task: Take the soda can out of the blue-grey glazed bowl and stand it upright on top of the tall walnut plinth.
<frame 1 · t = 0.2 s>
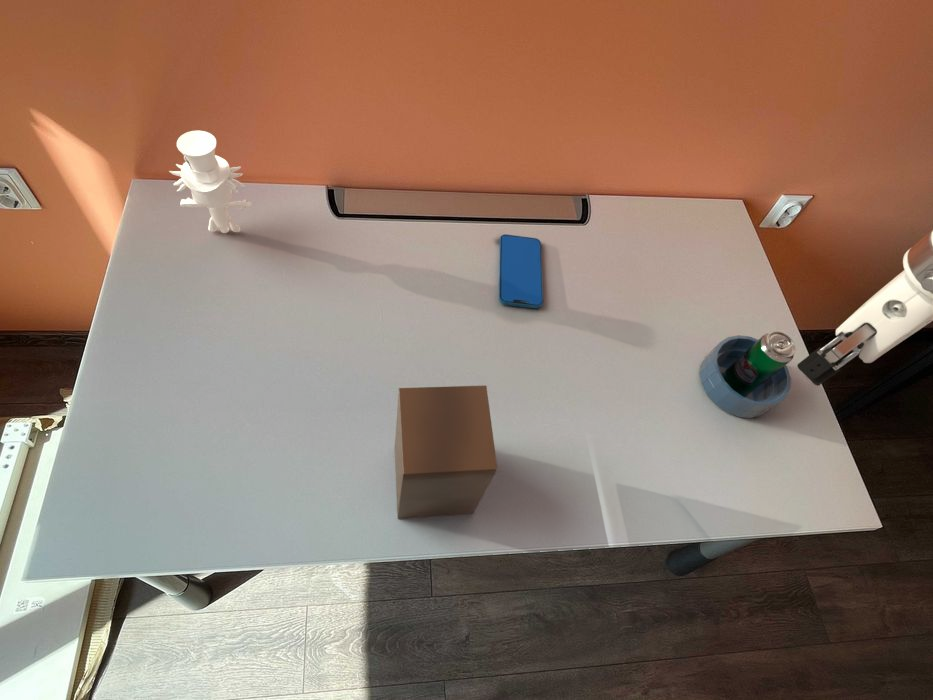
hand: (832, 357, 69), 23 cm above the table, tool pointing down, fingers open, 9 cm apart
smartphone: (519, 272, 99), on the table
figurine: (225, 232, 95), on the table
soda can: (736, 383, 93), resting on bowl
plinth: (433, 479, 78), on the table
bowl: (735, 384, 93), on the table
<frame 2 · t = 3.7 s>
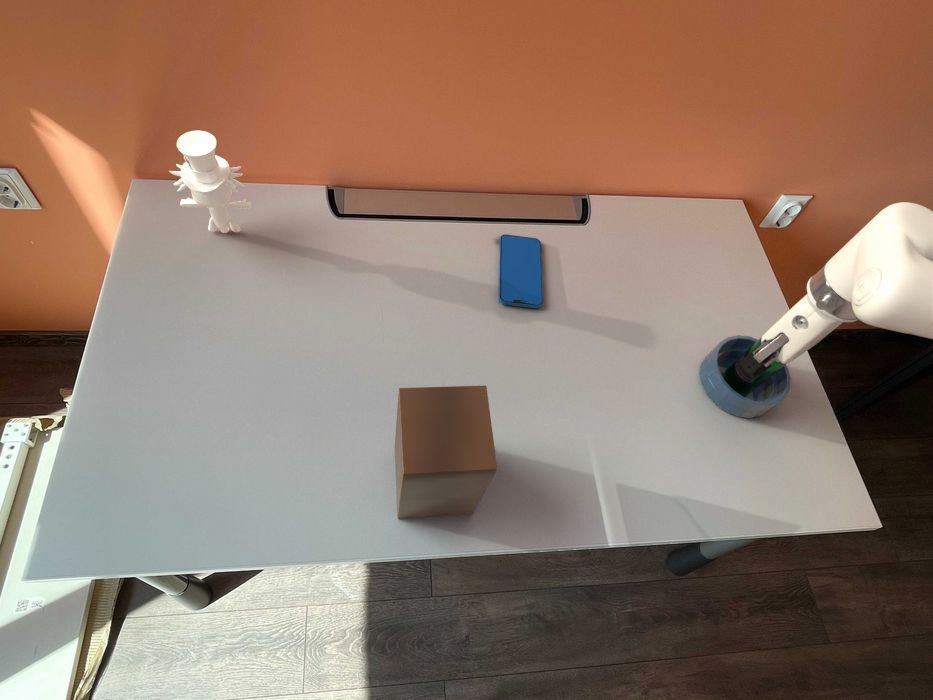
hand: (760, 361, 87), 7 cm above the table, tool pointing down, fingers closed on soda can, 5 cm apart
soda can: (736, 383, 93), resting on bowl, touching gripper
everything else where it was.
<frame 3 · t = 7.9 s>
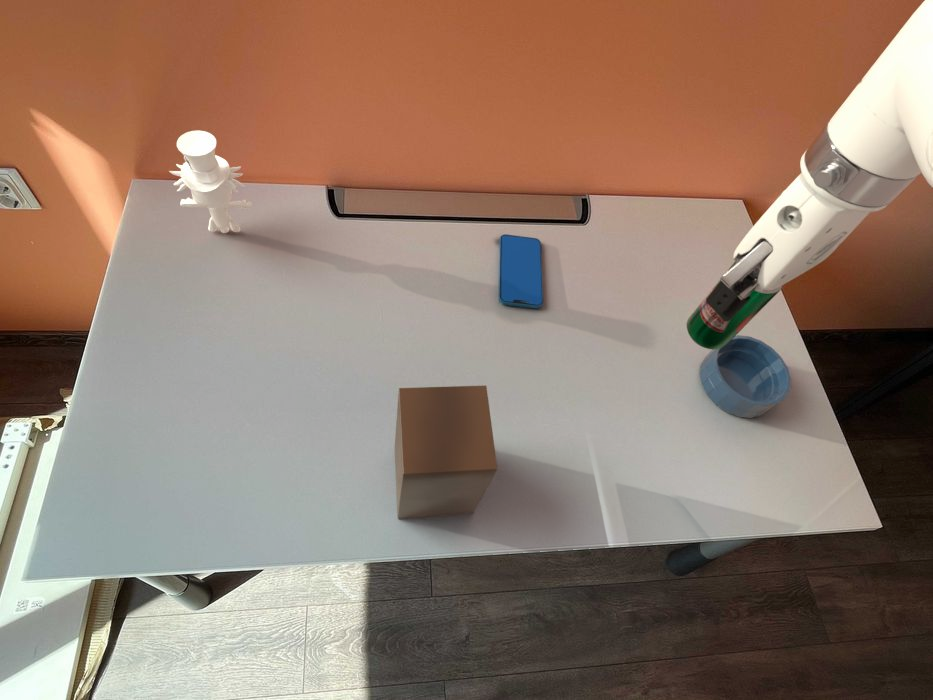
hand: (736, 298, 61), 31 cm above the table, tool pointing down, fingers closed on soda can, 5 cm apart
soda can: (704, 334, 67), point 24 cm above the table, touching gripper
everything else where it was.
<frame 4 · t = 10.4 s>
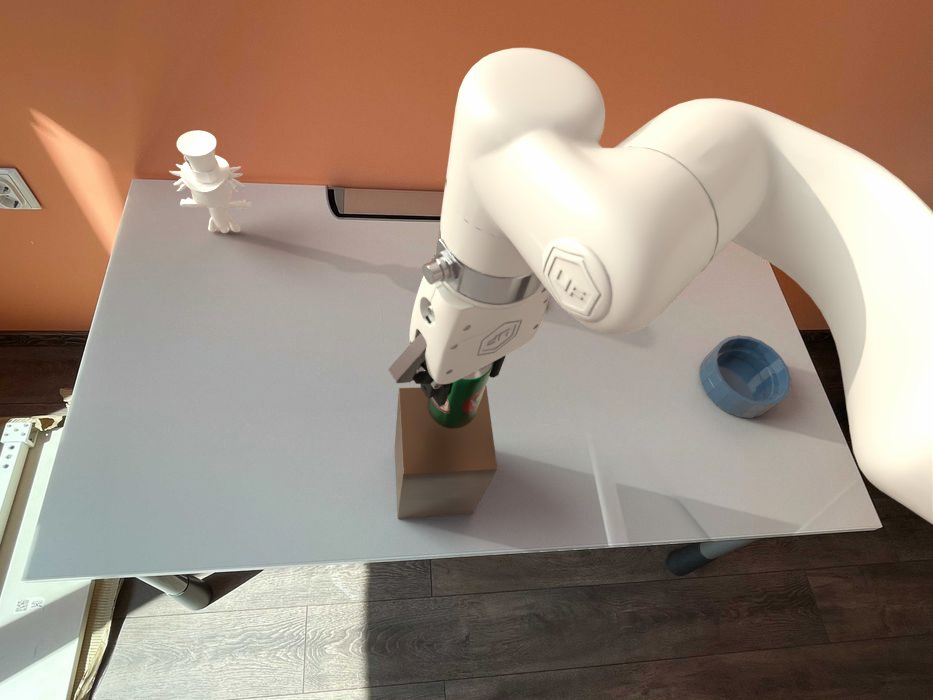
hand: (460, 377, 53), 30 cm above the table, tool pointing down, fingers closed on soda can, 5 cm apart
soda can: (451, 408, 59), point 23 cm above the table, touching gripper
everything else where it was.
when the fingers open (25 cm above the table, at t = 12.0 s): soda can stays where it is, resting on plinth.
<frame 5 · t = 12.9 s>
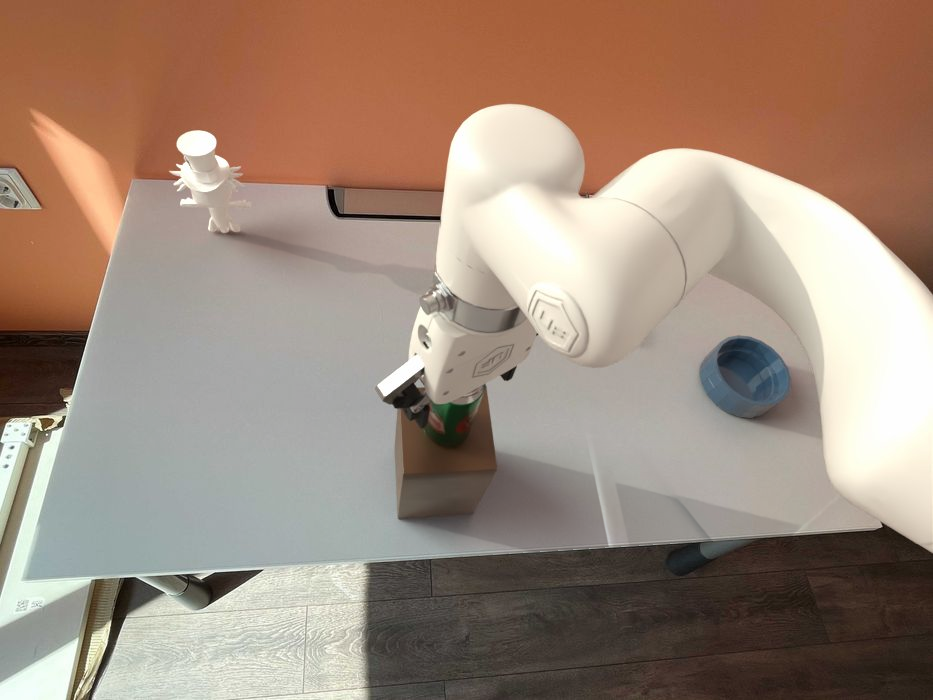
hand: (458, 391, 55), 27 cm above the table, tool pointing down, fingers open, 9 cm apart
soda can: (446, 427, 63), point 18 cm above the table, touching plinth
everything else where it was.
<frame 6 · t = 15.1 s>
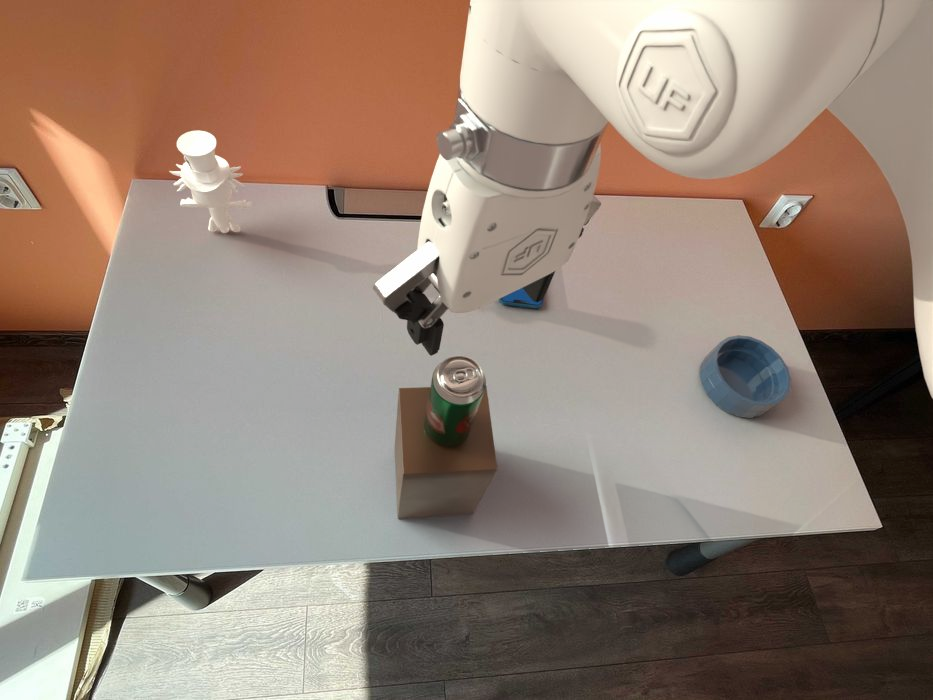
hand: (477, 312, 44), 40 cm above the table, tool pointing down, fingers open, 9 cm apart
nothing on the table moved.
at the end: soda can inside the target area on the plinth (0.0 cm from its centre), point 17.8 cm above the plinth's base; soda can tilted 0°; soda can touching plinth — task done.
